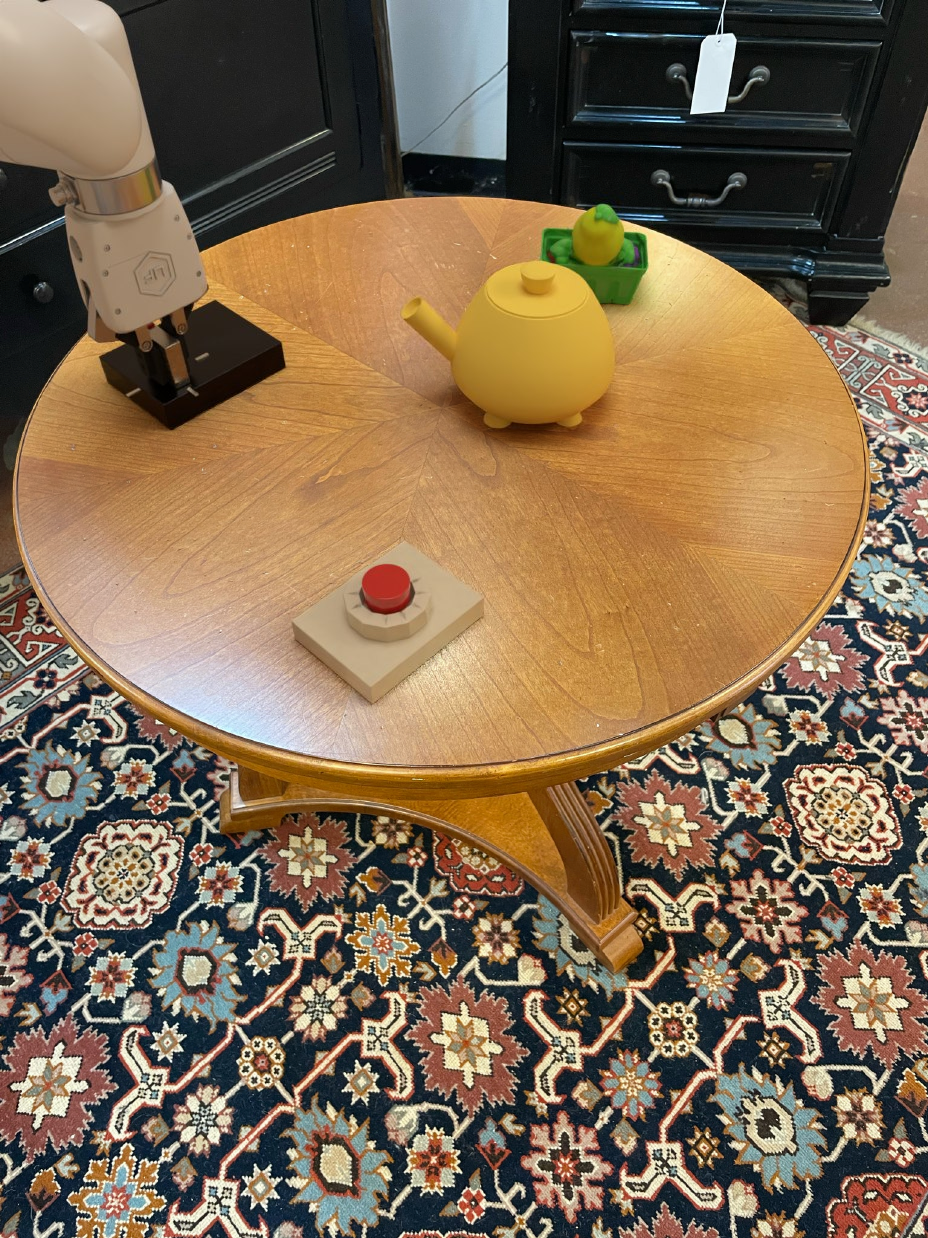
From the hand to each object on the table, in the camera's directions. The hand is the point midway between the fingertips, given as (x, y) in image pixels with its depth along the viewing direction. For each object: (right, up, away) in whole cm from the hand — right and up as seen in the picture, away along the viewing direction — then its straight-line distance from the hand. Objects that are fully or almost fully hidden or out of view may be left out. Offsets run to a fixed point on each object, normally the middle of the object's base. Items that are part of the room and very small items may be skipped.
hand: (167, 371), depth 91 cm
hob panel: (+1, +1, +5) cm, 6 cm away
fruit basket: (+42, +12, +15) cm, 46 cm away
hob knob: (0, 0, 0) cm, 0 cm away
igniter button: (+22, -22, -19) cm, 36 cm away
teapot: (+32, -2, +3) cm, 33 cm away
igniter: (+22, -24, -16) cm, 36 cm away
